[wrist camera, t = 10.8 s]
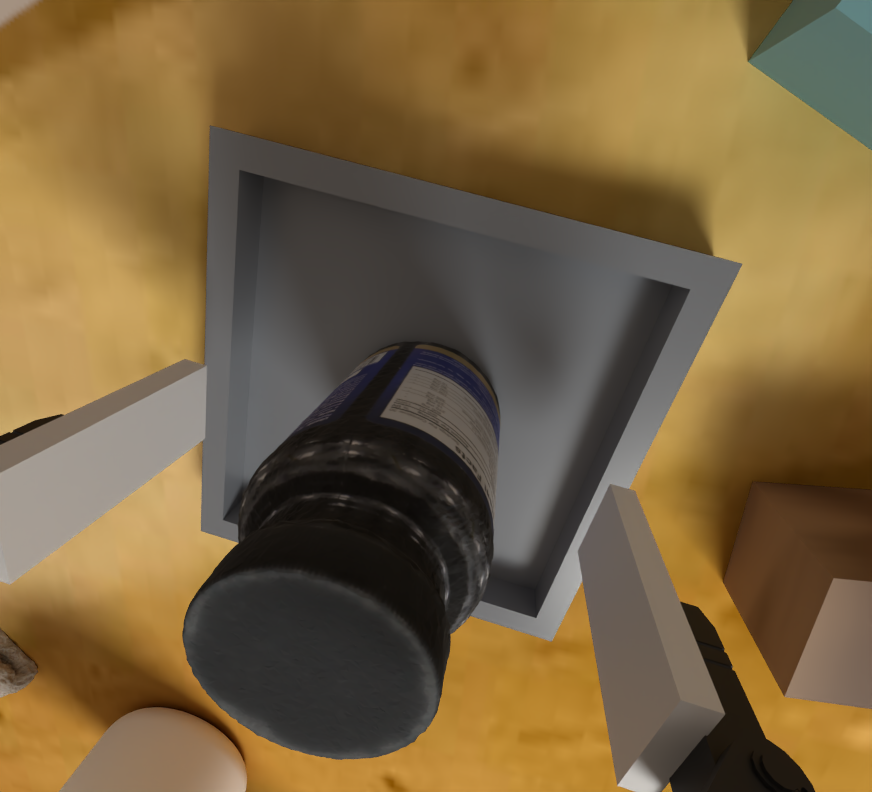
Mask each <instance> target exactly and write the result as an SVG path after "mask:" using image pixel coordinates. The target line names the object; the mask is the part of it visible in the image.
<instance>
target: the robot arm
mask: <svg viewBox="0 0 872 792" xmlns="http://www.w3.org/2000/svg"><path fill="white" fill-rule="evenodd" d="M206 385H207V365H203V364H200V363H196V362H193V361H189V360H186V359H184V360H182V361H180V362H177V363H175V364H173V365H171V366H169V367H167V368H165V369H162V370H160V371H158V372H156V373H154V374H152V375H150V376H147V377H145V378H143V379H141V380H139V381H137V382H134V383H132V384H130V385H128V386H126V387H124V388H122V389H119V390H117V391H115V392H113V393H111V394H109V395H107V396H104V397H102V398H100V399H98V400H96V401H94V402H92V403H89V404H87V405H85V406H83V407H81V408H79V409H76V410H74V411H72V412H70V413H68V414H66V415H63V414H60V415H56V416H52V417H47V418H43V419H39V420H35V421H33V422H31V423H28V424H26V425H24V426H22V427H19V428H17V429H15V430H13V432H12V433H10V432H8V433H6V434H4V435H2V436H0V581H1V582H4V583H7V584H11V583H13V582H14V581H15V580H17V579H18V578H19V577H21V576H22V575H23V574H25V573H26V572H27V571H29V570H30V569H31V568H33V567H34V566H35V565H37V564H38V563H39V562H41V561H42V560H43V559H45V558H46V557H47V556H49V555H50V554H51V553H53V552H54V551H55V550H57V549H58V548H59V547H61V546H62V545H63V544H65V543H66V542H67V541H69V540H70V539H71V538H73V537H74V536H76V535H77V534H78V533H80V532H81V531H82V530H84V529H85V528H86V527H88V526H89V525H90V524H92V523H93V522H94V521H96V520H97V519H98V518H100V517H101V516H102V515H104V514H105V513H106V512H108V511H109V510H110V509H112V508H113V507H114V506H116V505H117V504H118V503H120V502H121V501H122V500H124V499H125V498H126V497H128V496H129V495H130V494H132V493H133V492H134V491H136V490H137V489H138V488H140V487H141V486H142V485H144V484H145V483H146V482H148V481H149V480H150V479H152V478H153V477H154V476H156V475H157V474H158V473H160V472H161V471H162V470H164V469H165V468H166V467H168V466H169V465H170V464H172V463H173V462H174V461H176V460H177V459H178V458H180V457H181V456H182V455H184V454H185V453H186V452H188V451H189V450H190V449H192V448H193V447H194V446H196V445H197V444H198V443H200V442H201V441H202V440H204V439H205V426H206ZM578 556H579V562H580V568H581V574H582V580H583V586H584V592H585V598H586V603H587V609H588V615H589V621H590V627H591V633H592V639H593V645H594V651H595V656H596V662H597V668H598V674H599V680H600V686H601V692H602V698H603V704H604V710H605V715H606V721H607V727H608V733H609V739H610V745H611V751H612V757H613V763H614V768H615V774H616V780H617V786H620V787H623V788H626V789H629V790H632V791H635V792H662V790H663V789H664V788H665V787H666V786H667V784H668V783H669V782H670V784H671V787H672V791H673V792H815V790H814V788H813V785H812V784H811V782H810V781H809V779H808V778H807V777H806V775H805V774H804V772H803V771H802V769H801V768H800V767H799V766H798V765H797V764H796V763H795V762H794V761H793V760H792V759H791V758H790V757H789V756H788V754H787V753H786V752H785V751H783V750H782V749H780V748H779V747H778V746H776V745H775V744H773V743H772V742H771V741H769V740H767V739H766V737H765V735H764V733H763V731H762V729H761V727H760V724H759V722H758V720H757V718H756V716H755V714H754V711H753V709H752V707H751V705H750V703H749V701H748V698H747V696H746V694H745V692H744V690H743V688H742V686H741V683H740V681H739V679H738V677H737V675H736V673H735V671H733V670H732V667H733V666H732V664H731V662H730V660H729V657H728V655H727V653H725V652H724V647H723V644H722V642H721V640H720V638H719V636H718V634H717V631H716V629H715V627H714V626H713V625H712V624H711V622H710V621H709V620H708V619H707V618H706V616H705V615H704V614H703V613H702V611H701V610H700V609H699V608H698V607H696V606H693V605H690V604H686V603H683V602H680V601H679V598H678V596H677V593H676V591H675V588H674V586H673V584H672V581H671V579H670V576H669V574H668V571H667V569H666V566H665V564H664V561H663V559H662V556H661V554H660V551H659V549H658V546H657V544H656V542H655V539H654V537H653V534H652V532H651V529H650V527H649V524H648V522H647V519H646V517H645V514H644V512H643V509H642V507H641V505H640V502H639V500H638V497H637V495H636V492H635V491H634V490H630V489H627V488H623V487H620V486H616V485H613V484H610V485H609V487H608V489H607V491H606V493H605V495H604V497H603V499H602V502H601V504H600V506H599V508H598V510H597V512H596V514H595V516H594V518H593V520H592V522H591V524H590V526H589V529H588V531H587V533H586V535H585V537H584V539H583V541H582V543H581V545H580V547H579V549H578Z"/></svg>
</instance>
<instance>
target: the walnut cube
mask: <svg viewBox="0 0 872 792" xmlns="http://www.w3.org/2000/svg"><path fill="white" fill-rule="evenodd" d="M723 583H724V585H725V587H726V589H727V591H728V592H729V594H730V596H731V598H732V600H733V602H734V604H735V605H736V607H737V609H738V611H739V613H740V615H741V617H742V619H743V620H744V622H745V624H746V626H747V628H748V630H749V632H750V633H751V635H752V637H753V639H754V641H755V643H756V645H757V646H758V648H759V650H760V652H761V654H762V656H763V658H764V660H765V661H766V663H767V665H768V667H769V669H770V671H771V673H772V674H773V676H774V678H775V680H776V682H777V684H778V686H779V688H780V689H781V691H782V693H783V695H784V697H789V698H796V699H804V700H811V701H818V702H825V703H833V704H840V705H847V706H854V707H861V708H869V709H872V490H868V489H853V488H839V487H825V486H810V485H796V484H782V483H767V482H752V485H751V489H750V492H749V496H748V499H747V502H746V506H745V509H744V513H743V516H742V520H741V523H740V526H739V530H738V533H737V537H736V540H735V543H734V547H733V550H732V554H731V557H730V561H729V564H728V567H727V571H726V574H725V578H724V581H723Z"/></svg>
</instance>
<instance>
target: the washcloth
mask: <svg viewBox="0 0 872 792" xmlns="http://www.w3.org/2000/svg"><path fill="white" fill-rule="evenodd" d="M37 672H38V671H37V666H36V665H35V662H34V661H32V660H30V659H29V658H28V657H27V656H26V655H25V654H24V653H23V652H22V651H21V649H20V648H19V647H18V646H16V645H15V644H14V643H13V642H12V640H11V639H9V638H8V636H7V635H6V634H5V633H4V632H3V631H2V630H1V629H0V697H3V696H5V695H7V694H10V693H16V692H18V691H19V690H21V689H23V688H24V687H26V686H27V685H28V684H29V683H30V682H31V681H32V680H33V679H34V676H35V674H36V673H37Z"/></svg>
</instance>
